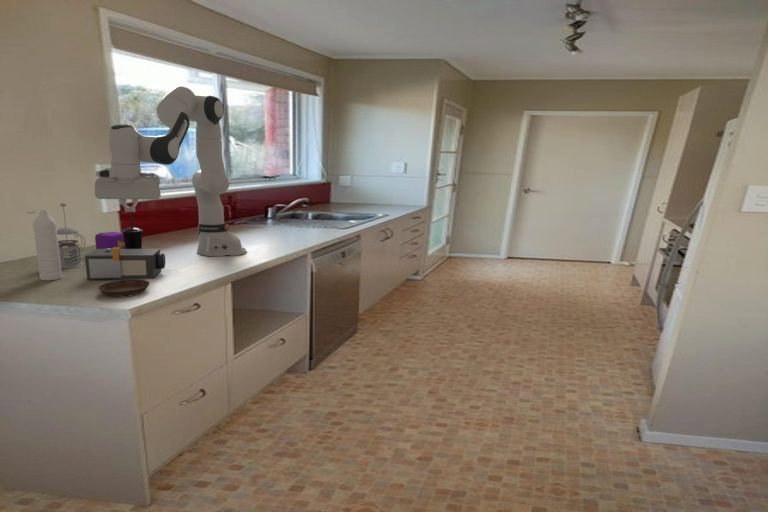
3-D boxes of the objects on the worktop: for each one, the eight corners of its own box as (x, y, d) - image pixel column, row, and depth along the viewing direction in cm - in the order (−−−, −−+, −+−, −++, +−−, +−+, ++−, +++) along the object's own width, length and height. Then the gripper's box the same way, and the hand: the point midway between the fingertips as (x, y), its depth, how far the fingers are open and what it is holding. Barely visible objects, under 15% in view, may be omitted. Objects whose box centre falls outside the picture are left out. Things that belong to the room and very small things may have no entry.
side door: (122, 276, 162) (119, 247, 159) (120, 278, 160) (118, 248, 158) (91, 277, 159) (88, 247, 157) (89, 278, 158) (86, 248, 155)
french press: (48, 266, 175) (41, 203, 169) (77, 260, 186) (71, 201, 180) (66, 269, 172) (58, 205, 166) (94, 263, 182) (88, 202, 177)
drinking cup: (149, 261, 190) (145, 215, 185) (132, 264, 183) (128, 216, 178) (137, 258, 193) (133, 213, 188) (120, 262, 186) (116, 215, 181)
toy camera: (136, 250, 208) (134, 229, 206) (116, 257, 194) (114, 234, 192) (114, 249, 209) (112, 228, 207) (93, 255, 195) (91, 233, 193)
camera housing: (166, 270, 176) (165, 246, 174) (159, 278, 165) (157, 253, 163) (99, 271, 170) (97, 246, 168) (87, 280, 159) (84, 253, 157)
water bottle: (52, 275, 163) (43, 207, 157) (66, 277, 162) (59, 209, 156) (29, 281, 154) (19, 210, 149) (44, 283, 153) (35, 211, 148)
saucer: (90, 293, 146) (89, 285, 145) (135, 284, 158) (135, 276, 158) (113, 302, 138) (112, 294, 138) (158, 292, 150) (158, 284, 150)
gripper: (161, 172, 159) (164, 210, 162) (97, 171, 154) (101, 210, 157) (156, 173, 153) (160, 213, 156) (90, 172, 148) (95, 213, 151)
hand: (130, 211), depth 157 cm, fingers closed
